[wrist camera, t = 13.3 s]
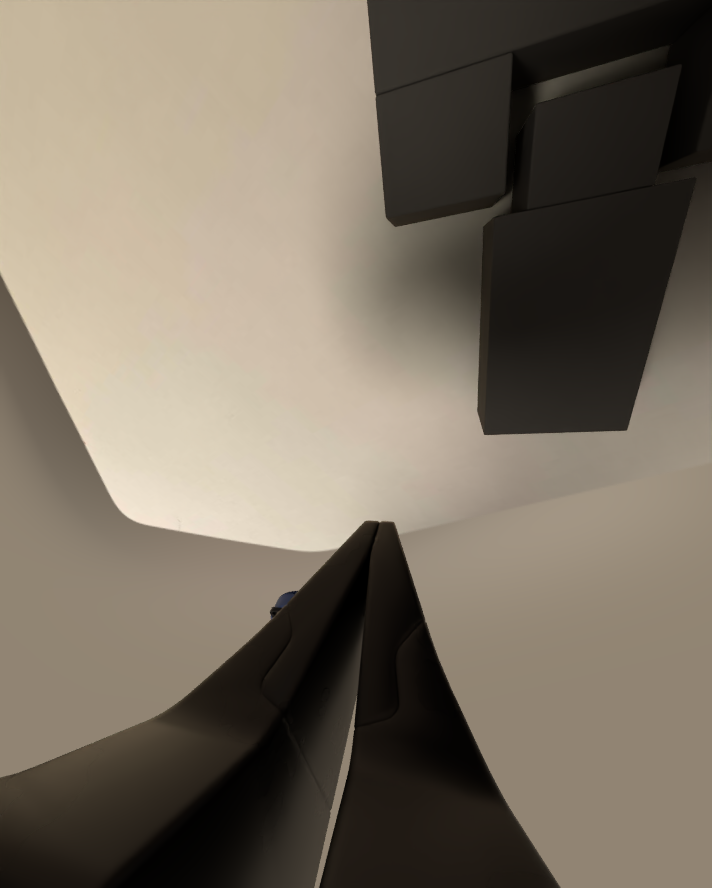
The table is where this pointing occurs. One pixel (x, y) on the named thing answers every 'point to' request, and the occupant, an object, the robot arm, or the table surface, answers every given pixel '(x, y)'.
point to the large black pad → (511, 85)
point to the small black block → (579, 261)
